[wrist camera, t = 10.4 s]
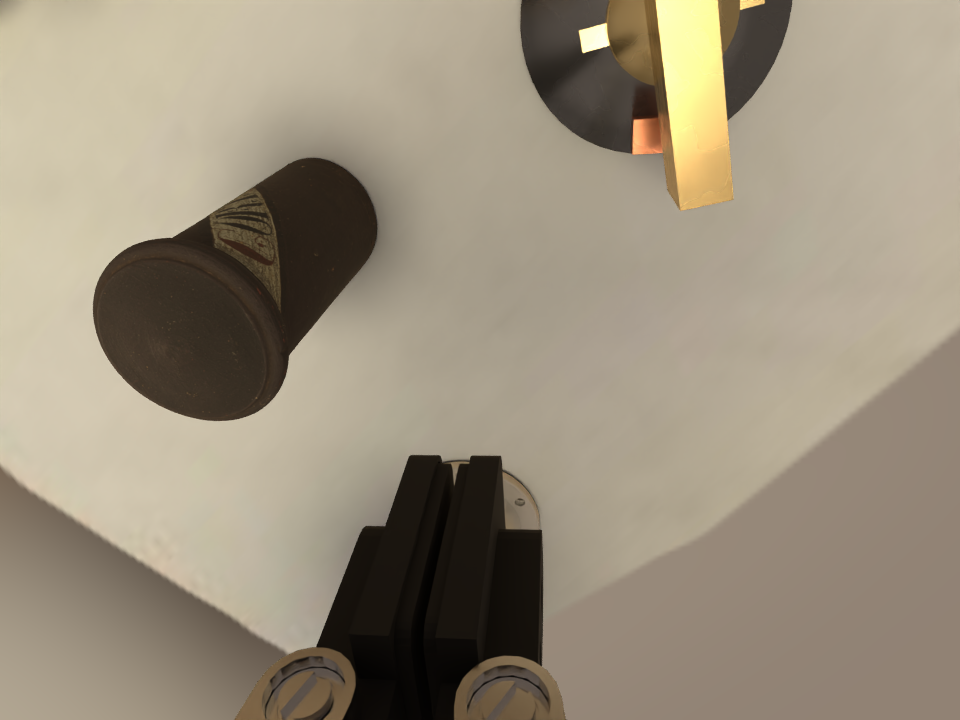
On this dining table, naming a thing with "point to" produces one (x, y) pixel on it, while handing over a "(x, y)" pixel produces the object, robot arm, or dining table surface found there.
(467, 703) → the robot arm
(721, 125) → the gold bar handle
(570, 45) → the post base
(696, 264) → the dining table surface
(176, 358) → the container
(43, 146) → the dining table surface
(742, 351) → the dining table surface
